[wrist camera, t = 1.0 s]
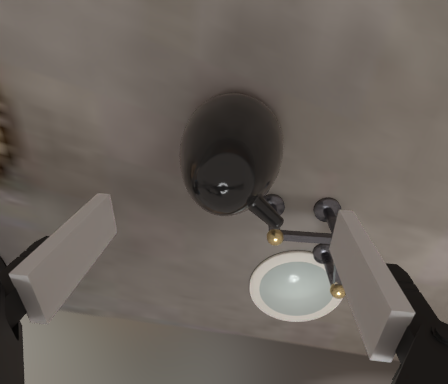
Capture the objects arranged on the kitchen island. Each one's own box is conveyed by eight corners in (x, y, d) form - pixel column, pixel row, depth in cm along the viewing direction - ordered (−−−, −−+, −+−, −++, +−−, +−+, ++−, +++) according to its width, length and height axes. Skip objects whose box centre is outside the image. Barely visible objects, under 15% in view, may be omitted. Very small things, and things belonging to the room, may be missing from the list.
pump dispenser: (245, 190, 35) (240, 277, 22) (176, 144, 33) (123, 207, 20) (300, 126, 31) (335, 184, 17) (223, 68, 29) (197, 83, 15)
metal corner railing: (254, 255, 40) (254, 298, 33) (260, 193, 35) (261, 228, 28) (333, 262, 39) (351, 307, 32) (350, 199, 34) (374, 236, 27)
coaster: (247, 314, 46) (246, 317, 45) (252, 246, 39) (252, 250, 38) (333, 322, 44) (334, 326, 44) (354, 254, 38) (355, 258, 37)
